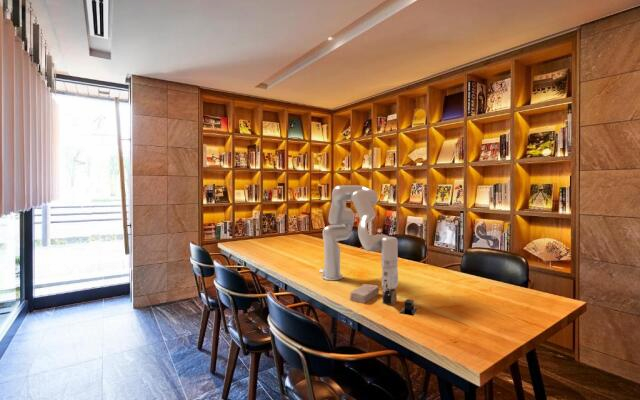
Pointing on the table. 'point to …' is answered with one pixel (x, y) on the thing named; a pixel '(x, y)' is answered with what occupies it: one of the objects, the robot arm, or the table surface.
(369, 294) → the brick
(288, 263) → the table surface
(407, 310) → the black piece
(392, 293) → the brown wooden block
